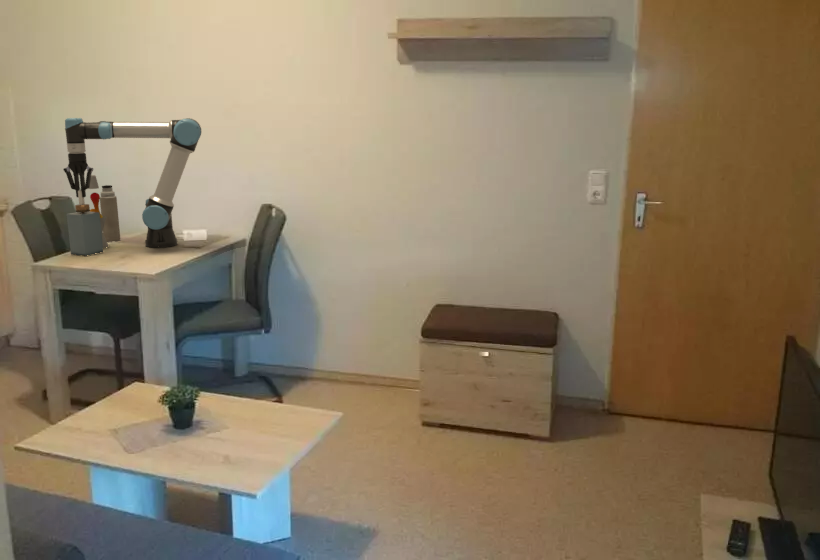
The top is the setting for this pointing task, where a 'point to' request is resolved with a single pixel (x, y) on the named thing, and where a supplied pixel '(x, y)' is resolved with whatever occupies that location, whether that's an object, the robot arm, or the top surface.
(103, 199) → the thermos bottle
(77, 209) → the plunger
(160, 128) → the robot arm
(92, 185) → the lava lamp
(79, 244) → the grey utensil holder
